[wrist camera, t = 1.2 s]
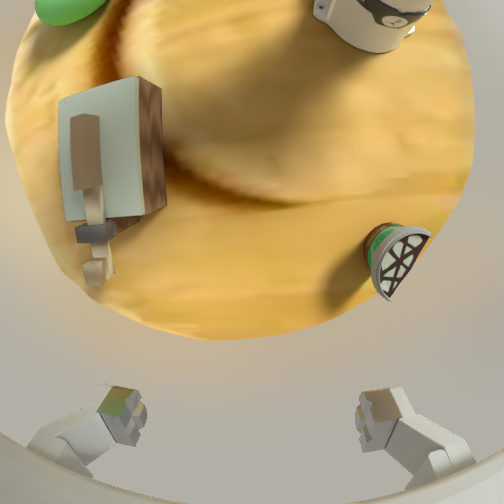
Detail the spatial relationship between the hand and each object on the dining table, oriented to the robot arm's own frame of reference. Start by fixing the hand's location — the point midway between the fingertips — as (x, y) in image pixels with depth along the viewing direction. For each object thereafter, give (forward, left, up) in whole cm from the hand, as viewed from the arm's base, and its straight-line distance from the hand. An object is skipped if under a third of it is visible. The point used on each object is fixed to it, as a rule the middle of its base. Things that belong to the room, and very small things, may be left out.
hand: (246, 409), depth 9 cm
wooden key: (0, -23, -28) cm, 36 cm away
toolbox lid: (-12, -23, -30) cm, 39 cm away
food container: (+5, +19, -39) cm, 43 cm away
